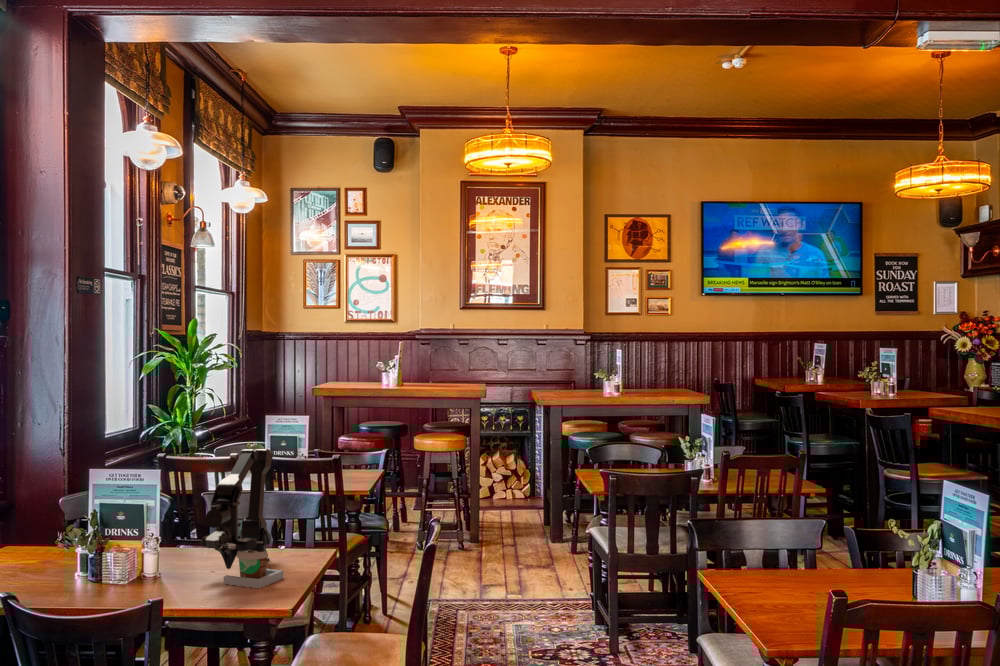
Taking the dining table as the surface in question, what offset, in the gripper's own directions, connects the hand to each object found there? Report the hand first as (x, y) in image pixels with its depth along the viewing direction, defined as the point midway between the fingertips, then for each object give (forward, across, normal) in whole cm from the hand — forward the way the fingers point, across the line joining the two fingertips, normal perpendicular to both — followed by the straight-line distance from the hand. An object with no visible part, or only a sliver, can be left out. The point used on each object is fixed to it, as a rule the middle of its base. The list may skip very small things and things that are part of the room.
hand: (228, 568), depth 261 cm
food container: (+3, +9, -1) cm, 9 cm away
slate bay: (+3, +9, 0) cm, 10 cm away
